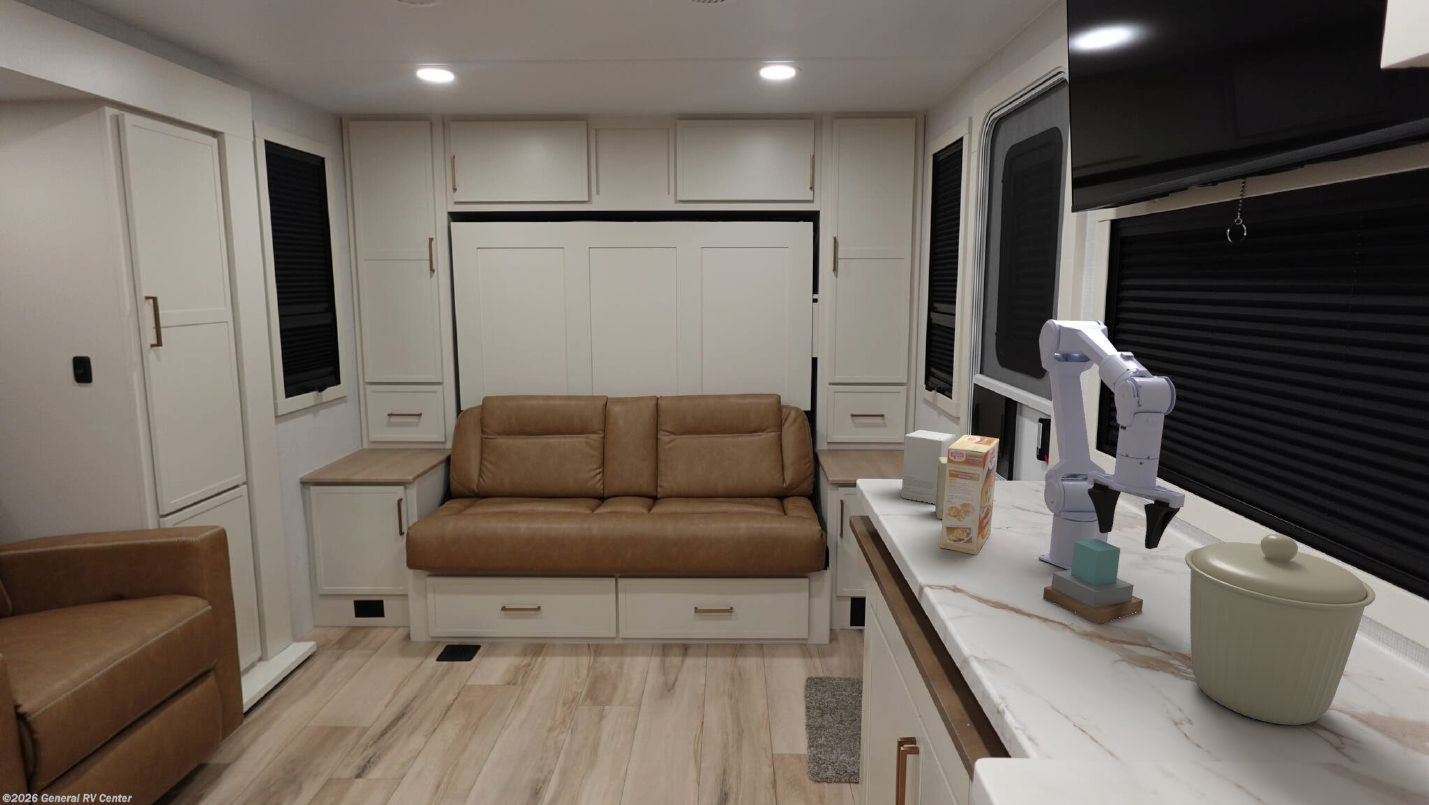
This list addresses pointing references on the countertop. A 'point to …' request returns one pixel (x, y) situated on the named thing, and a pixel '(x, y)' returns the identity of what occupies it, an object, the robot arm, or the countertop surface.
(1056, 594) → the walnut slab
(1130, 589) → the gray square slab
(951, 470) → the coffeecake box
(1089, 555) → the teal block
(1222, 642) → the canister
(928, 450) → the supplement box
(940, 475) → the skincare box
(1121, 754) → the countertop surface
